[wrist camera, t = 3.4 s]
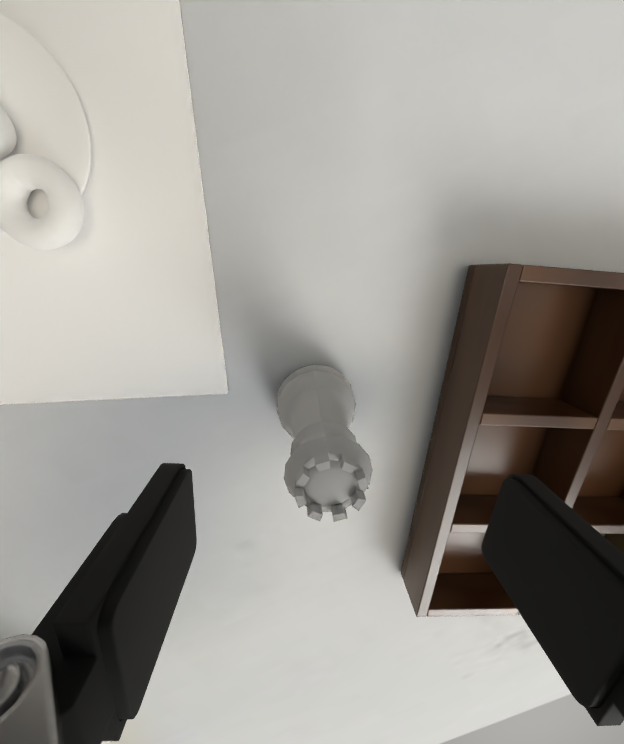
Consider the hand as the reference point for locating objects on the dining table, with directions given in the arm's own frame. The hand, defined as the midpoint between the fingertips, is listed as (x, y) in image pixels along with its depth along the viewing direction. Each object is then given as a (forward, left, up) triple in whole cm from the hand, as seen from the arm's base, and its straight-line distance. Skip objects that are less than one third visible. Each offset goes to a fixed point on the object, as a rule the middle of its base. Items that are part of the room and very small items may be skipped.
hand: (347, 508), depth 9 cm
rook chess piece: (0, 0, -9) cm, 9 cm away
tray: (+15, -3, -9) cm, 18 cm away
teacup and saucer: (-16, +9, -9) cm, 21 cm away
